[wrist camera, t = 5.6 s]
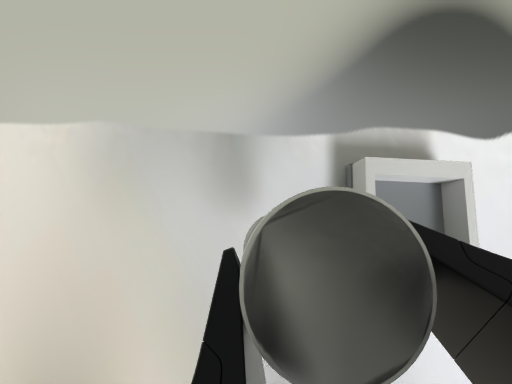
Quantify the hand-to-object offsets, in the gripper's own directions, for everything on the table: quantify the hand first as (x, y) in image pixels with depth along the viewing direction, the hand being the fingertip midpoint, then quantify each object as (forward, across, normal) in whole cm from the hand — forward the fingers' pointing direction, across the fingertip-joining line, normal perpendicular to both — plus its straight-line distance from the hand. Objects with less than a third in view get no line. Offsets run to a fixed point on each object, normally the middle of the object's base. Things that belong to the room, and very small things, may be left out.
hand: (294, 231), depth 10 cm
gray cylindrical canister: (+4, 0, +6) cm, 7 cm away
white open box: (+7, -12, +12) cm, 19 cm away
